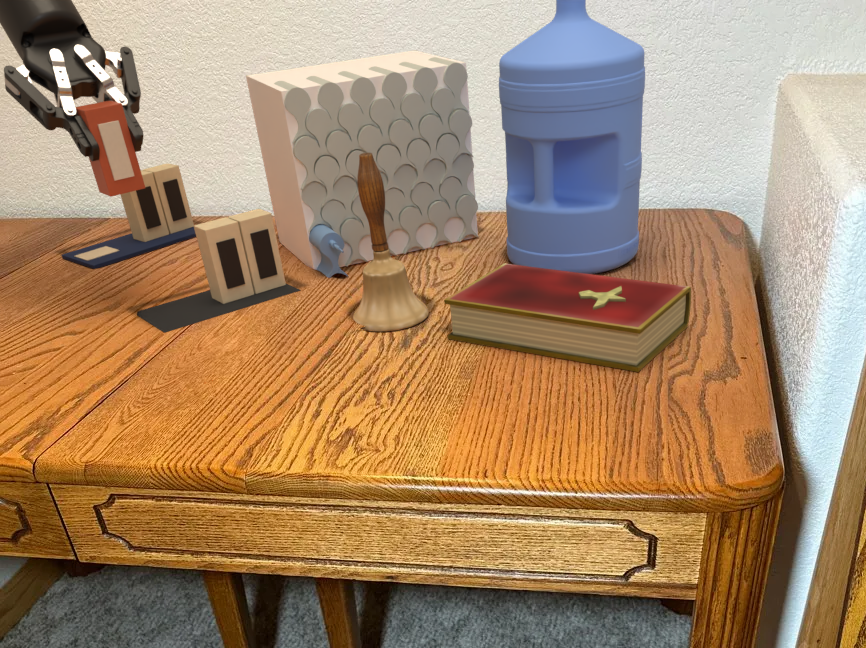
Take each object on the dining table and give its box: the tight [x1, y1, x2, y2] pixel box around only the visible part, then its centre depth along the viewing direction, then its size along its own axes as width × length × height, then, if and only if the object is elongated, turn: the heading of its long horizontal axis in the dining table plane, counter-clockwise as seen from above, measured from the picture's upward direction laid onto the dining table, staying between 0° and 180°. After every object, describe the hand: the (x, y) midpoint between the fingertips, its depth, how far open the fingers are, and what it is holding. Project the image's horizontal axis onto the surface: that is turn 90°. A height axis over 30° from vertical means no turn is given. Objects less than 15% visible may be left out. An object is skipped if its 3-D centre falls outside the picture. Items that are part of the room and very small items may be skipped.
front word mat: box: [136, 208, 301, 334], centre depth 102 cm, size 17×9×8 cm, turn 128°
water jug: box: [498, 0, 646, 275], centre depth 100 cm, size 16×16×28 cm
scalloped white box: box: [245, 49, 480, 279], centre depth 111 cm, size 22×24×20 cm
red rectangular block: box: [75, 101, 145, 198], centre depth 95 cm, size 4×3×8 cm
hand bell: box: [352, 153, 430, 333], centre depth 93 cm, size 8×8×16 cm
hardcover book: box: [443, 262, 692, 373], centre depth 90 cm, size 12×21×4 cm, turn 58°
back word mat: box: [61, 162, 197, 270], centre depth 124 cm, size 18×9×8 cm, turn 137°
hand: (117, 150), depth 93 cm, fingers closed on red rectangular block, 4 cm apart
